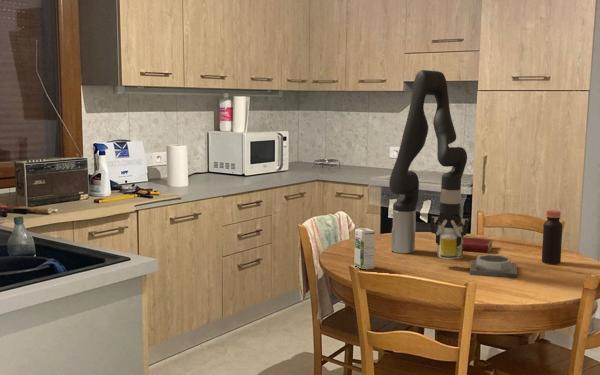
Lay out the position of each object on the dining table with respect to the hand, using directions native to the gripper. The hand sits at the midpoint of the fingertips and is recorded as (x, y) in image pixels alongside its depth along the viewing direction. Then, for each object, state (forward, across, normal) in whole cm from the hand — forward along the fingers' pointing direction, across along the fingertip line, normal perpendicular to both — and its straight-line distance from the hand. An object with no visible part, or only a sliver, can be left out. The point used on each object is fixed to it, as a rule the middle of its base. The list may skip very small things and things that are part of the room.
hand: (448, 245), depth 238 cm
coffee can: (+9, -1, +18) cm, 20 cm away
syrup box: (+9, -29, -10) cm, 32 cm away
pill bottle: (+5, 0, 0) cm, 5 cm away
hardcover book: (+9, +4, +34) cm, 36 cm away
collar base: (+8, +16, 0) cm, 18 cm away
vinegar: (+8, +37, +19) cm, 43 cm away
